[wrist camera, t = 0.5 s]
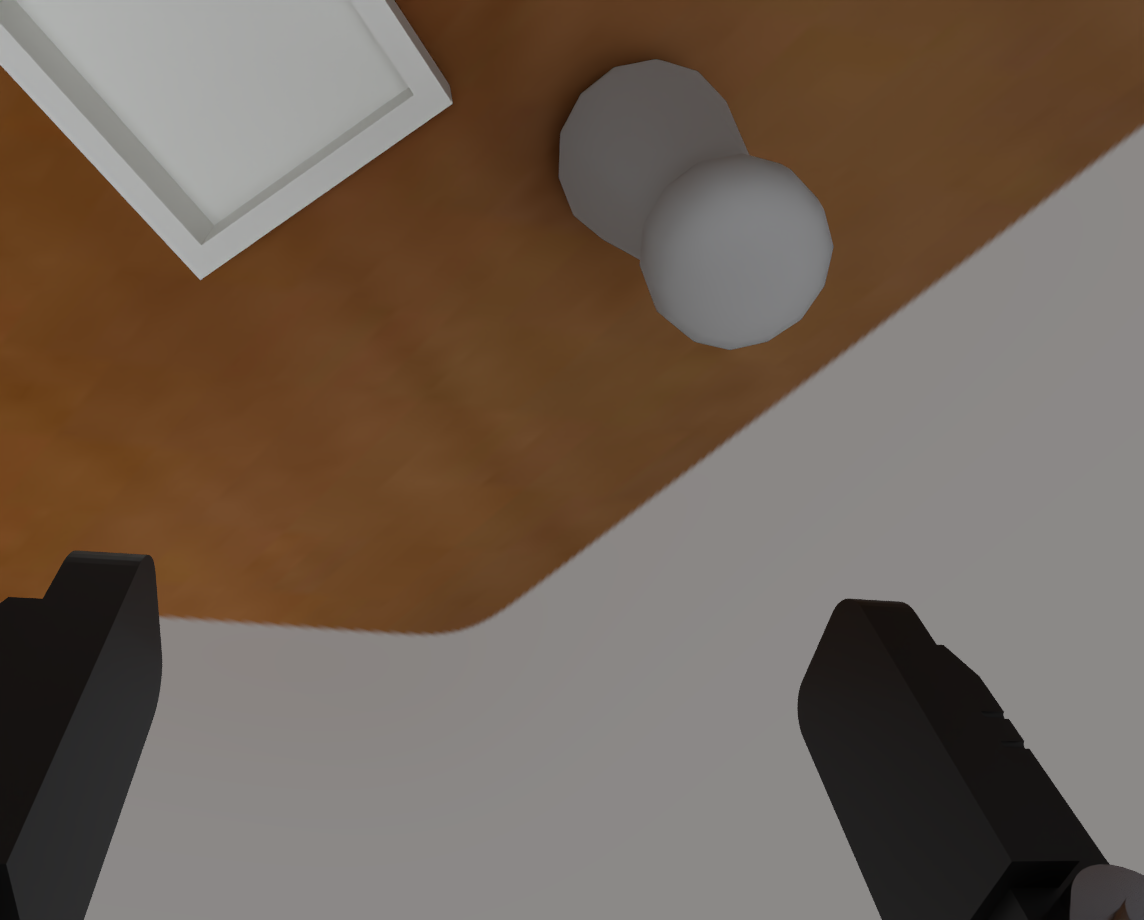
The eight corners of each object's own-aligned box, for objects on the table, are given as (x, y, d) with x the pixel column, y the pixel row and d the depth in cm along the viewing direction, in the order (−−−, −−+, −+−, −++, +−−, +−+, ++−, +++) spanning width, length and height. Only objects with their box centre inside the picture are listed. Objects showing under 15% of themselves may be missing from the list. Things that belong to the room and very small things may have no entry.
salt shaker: (657, 252, 32) (775, 428, 22) (519, 179, 30) (573, 334, 19) (747, 102, 30) (931, 216, 19) (604, 13, 28) (719, 83, 17)
